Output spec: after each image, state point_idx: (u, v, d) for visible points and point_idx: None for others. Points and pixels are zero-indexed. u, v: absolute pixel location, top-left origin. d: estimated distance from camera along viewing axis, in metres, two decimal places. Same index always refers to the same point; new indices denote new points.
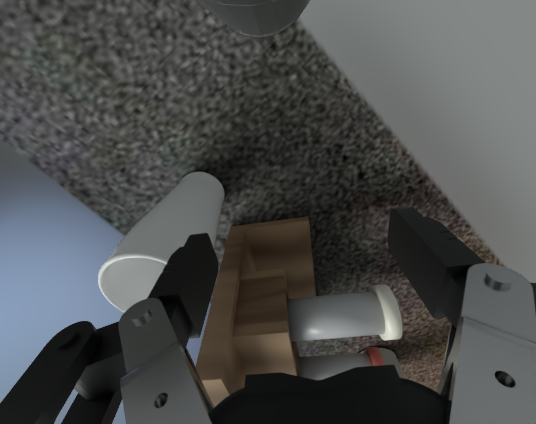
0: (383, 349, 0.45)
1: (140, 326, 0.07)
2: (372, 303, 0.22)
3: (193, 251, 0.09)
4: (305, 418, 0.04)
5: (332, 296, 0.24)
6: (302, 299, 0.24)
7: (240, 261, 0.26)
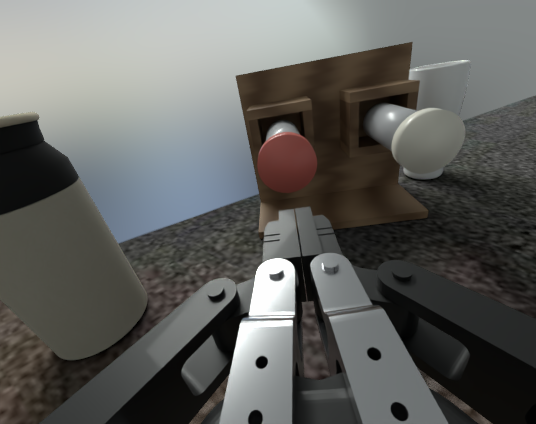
0: (132, 324, 0.21)
1: (282, 281, 0.07)
2: None
3: (291, 223, 0.10)
4: (305, 418, 0.04)
5: None
6: None
7: None
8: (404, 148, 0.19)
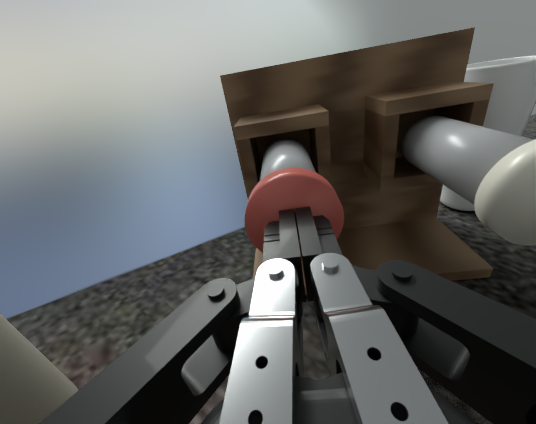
0: None
1: (282, 280, 0.07)
2: None
3: (291, 223, 0.10)
4: (305, 418, 0.04)
5: None
6: None
7: None
8: (507, 206, 0.10)
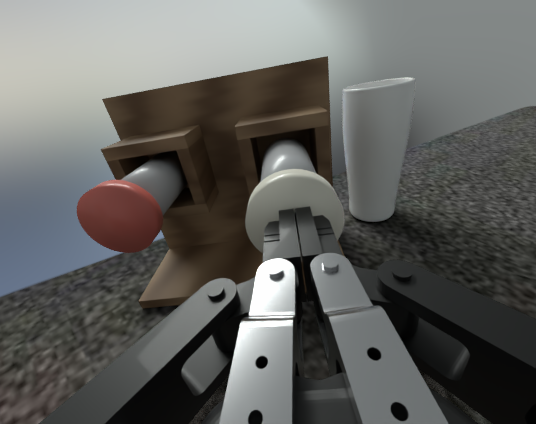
0: None
1: (282, 280, 0.07)
2: None
3: (291, 223, 0.10)
4: (305, 418, 0.04)
5: None
6: None
7: (330, 184, 0.25)
8: (255, 229, 0.12)
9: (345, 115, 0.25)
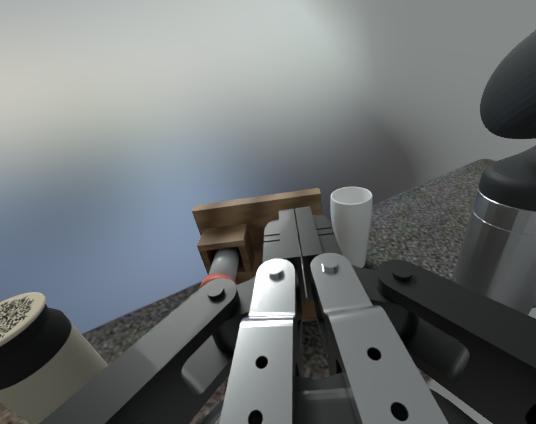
0: None
1: (282, 281, 0.07)
2: None
3: (291, 223, 0.10)
4: (305, 418, 0.04)
5: None
6: None
7: None
8: None
9: (332, 211, 0.42)
